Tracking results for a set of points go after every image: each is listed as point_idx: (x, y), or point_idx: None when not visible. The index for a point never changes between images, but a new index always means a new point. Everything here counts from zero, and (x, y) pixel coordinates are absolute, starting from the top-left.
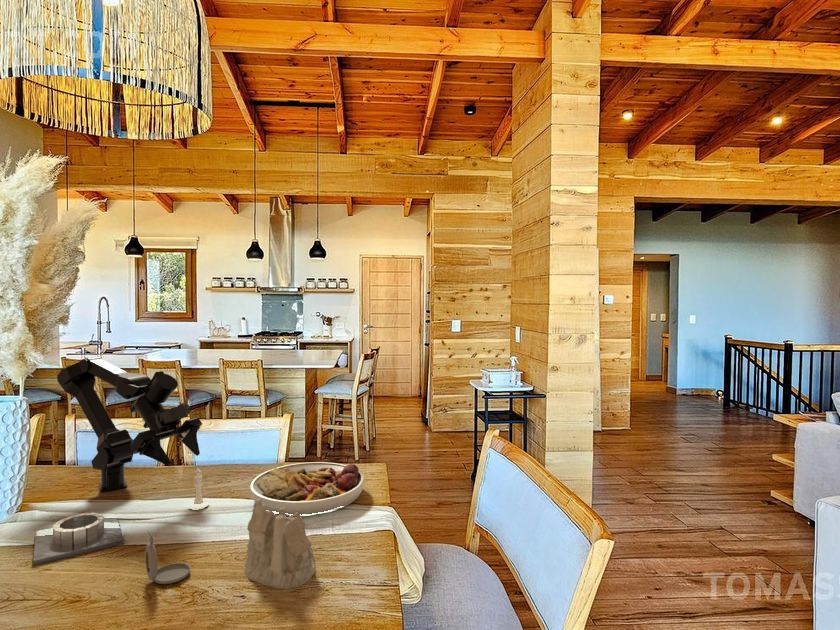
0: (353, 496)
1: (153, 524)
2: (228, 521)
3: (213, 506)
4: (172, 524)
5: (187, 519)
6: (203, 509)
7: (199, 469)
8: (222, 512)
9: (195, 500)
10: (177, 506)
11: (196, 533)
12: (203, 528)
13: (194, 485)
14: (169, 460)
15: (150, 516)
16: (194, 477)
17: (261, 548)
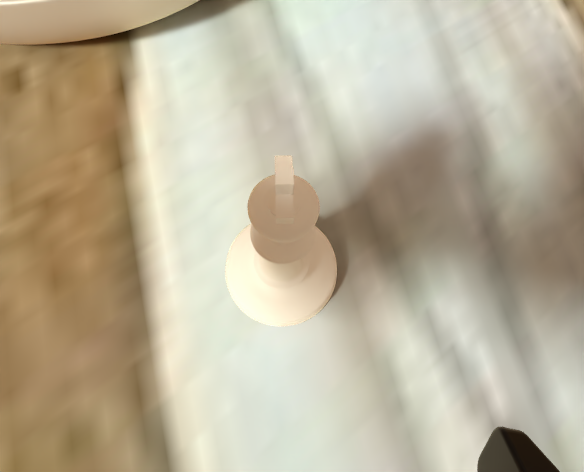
0: None
1: (553, 359)
2: (394, 38)
3: None
4: (513, 259)
5: (439, 224)
6: None
7: (276, 173)
8: (316, 111)
9: (301, 268)
10: (311, 397)
11: (541, 97)
12: (491, 97)
13: (309, 246)
14: (527, 463)
15: None
16: (314, 224)
17: None
